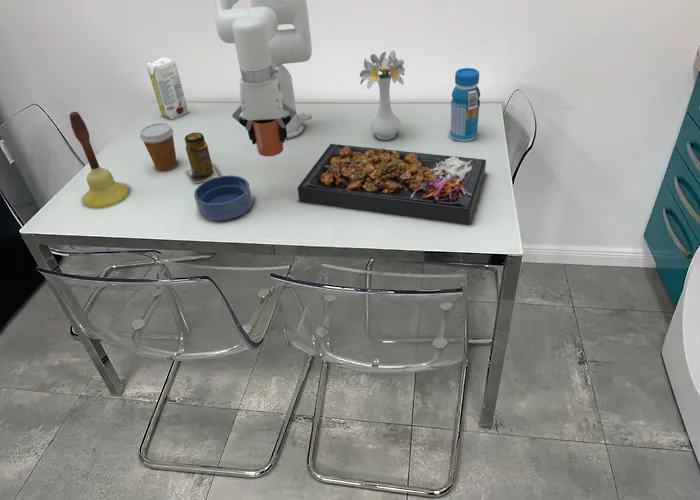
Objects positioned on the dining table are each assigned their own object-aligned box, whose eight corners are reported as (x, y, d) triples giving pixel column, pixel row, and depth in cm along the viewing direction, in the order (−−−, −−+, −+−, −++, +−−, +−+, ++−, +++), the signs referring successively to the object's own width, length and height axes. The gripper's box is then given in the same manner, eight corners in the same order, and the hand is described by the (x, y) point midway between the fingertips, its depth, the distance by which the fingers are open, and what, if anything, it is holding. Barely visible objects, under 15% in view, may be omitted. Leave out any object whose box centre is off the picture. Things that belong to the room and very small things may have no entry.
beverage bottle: (447, 141, 171) (450, 76, 158) (451, 128, 177) (454, 65, 165) (475, 143, 168) (480, 78, 156) (479, 130, 175) (484, 67, 162)
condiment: (212, 165, 169) (202, 128, 162) (219, 177, 163) (210, 139, 156) (188, 171, 167) (177, 134, 160) (194, 184, 161) (184, 146, 153)
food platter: (484, 173, 155) (487, 139, 148) (469, 224, 137) (472, 188, 130) (331, 156, 168) (328, 125, 162) (299, 201, 150) (294, 167, 144)
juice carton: (191, 112, 201) (177, 59, 189) (171, 121, 196) (155, 67, 184) (178, 107, 205) (164, 55, 193) (158, 116, 200) (142, 63, 188)
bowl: (242, 187, 158) (238, 169, 155) (260, 211, 148) (257, 193, 144) (192, 203, 153) (187, 185, 150) (208, 229, 143) (203, 211, 140)
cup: (277, 141, 149) (272, 109, 144) (287, 151, 144) (282, 119, 139) (254, 148, 147) (247, 116, 141) (263, 159, 142) (257, 126, 137)
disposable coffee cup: (174, 174, 166) (163, 137, 159) (145, 173, 168) (132, 136, 161) (187, 158, 174) (177, 122, 166) (159, 157, 175) (148, 121, 168)
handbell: (136, 184, 163) (107, 103, 148) (115, 208, 154) (82, 124, 138) (98, 183, 165) (65, 103, 150) (75, 207, 156) (37, 123, 140)
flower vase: (407, 121, 183) (406, 43, 168) (403, 148, 169) (402, 66, 153) (367, 121, 185) (363, 44, 170) (360, 148, 171) (355, 67, 155)
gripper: (295, 64, 135) (304, 132, 146) (223, 69, 136) (238, 136, 147) (292, 77, 129) (301, 146, 141) (217, 81, 130) (233, 150, 142)
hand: (269, 140), depth 144 cm, fingers closed on cup, 6 cm apart
